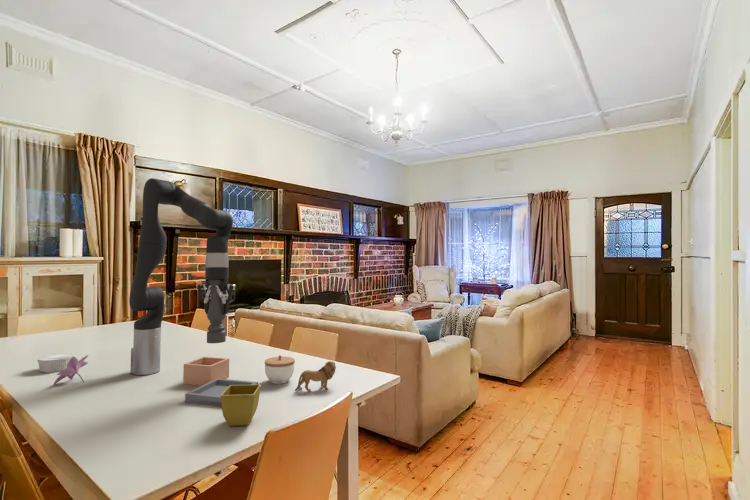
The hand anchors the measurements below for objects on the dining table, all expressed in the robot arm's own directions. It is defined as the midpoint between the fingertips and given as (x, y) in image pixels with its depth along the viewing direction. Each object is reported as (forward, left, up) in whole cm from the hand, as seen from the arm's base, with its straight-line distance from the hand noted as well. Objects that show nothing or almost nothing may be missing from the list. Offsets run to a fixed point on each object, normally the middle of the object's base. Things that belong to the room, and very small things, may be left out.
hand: (216, 313), depth 134 cm
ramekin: (-73, +3, -26) cm, 78 cm away
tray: (+8, -6, -25) cm, 27 cm away
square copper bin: (-7, +6, -25) cm, 27 cm away
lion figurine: (+35, +8, -26) cm, 44 cm away
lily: (-52, -8, -26) cm, 59 cm away
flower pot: (+25, -23, -26) cm, 43 cm away
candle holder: (0, 0, -10) cm, 10 cm away
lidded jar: (+19, +12, -26) cm, 34 cm away
